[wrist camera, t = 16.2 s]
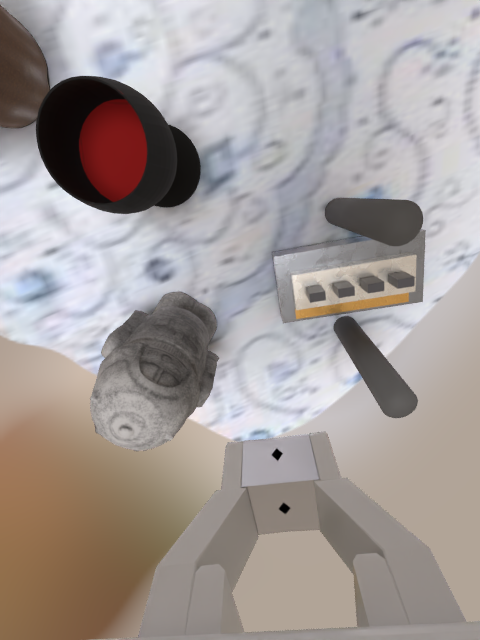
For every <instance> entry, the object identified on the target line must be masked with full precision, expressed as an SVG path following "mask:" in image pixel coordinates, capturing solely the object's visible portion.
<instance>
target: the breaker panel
mask: <svg viewBox="0 0 480 640" xmlns="http://www.w3.org/2000/svg"><path fill="white" fill-rule="evenodd" d="M424 253H425V230H420V232H419V233H418V235H417V236H416V237H415V238H414V239H413V240H412V241H410V242H409V243H407V244H405V245H402V246H389V245H386V244H384V243H381V242H379V241H376V240H373V239H371V238H368V237H365V236H360V237H354V238H348V239H343V240H337V241H332V242H326V243H320V244H315V245H309V246H304V247H298V248H292V249H287V250H281V251H275V252H272V256H273V263H274V270H275V277H276V284H277V291H278V298H279V305H280V312H281V317H282V321H283V323H287V322H294V321H300V320H307V319H313V318H320V317H326V316H333V315H339V314H346V313H352V312H359V311H365V310H372V309H378V308H385V307H391V306H398V305H404V304H411V303H417V302H423V278H424ZM398 272H406V273H408V274H410V275H412V276H414V277H415V283H414V286H412V287H406V288H400V289H397V288H396V287H394V286H392V285H391V284H389V283H388V274H392V273H398ZM374 276H376V277H378V278H379V279H381V280H382V281H384V291H381V292H375V293H367V292H366V291H364V290H363V289H362V288H361V284H360V279H362V278H368V277H374ZM343 281H349V282H350V283H351V284H352V285H353V286H354V287H355V296H349V297H343V298H338V297H337V295H336V294H335V293H334V292H333V283H337V282H343ZM319 285H321V286H322V288H323V289H324V290H325V294H326V300H324V301H318V302H312V303H310V301H309V300H308V298H307V295H306V288H307V287H313V286H319Z"/></svg>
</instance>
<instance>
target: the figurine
mask: <svg viewBox="0 0 480 640" xmlns="http://www.w3.org/2000/svg"><path fill="white" fill-rule="evenodd" d="M216 328H217V322H216V318H215V315H214V313H213V312H212V311H211V309H209V308H208V307H206V306H205V305H203V304H201V303H199V302H197V301H196V300H195V299H193V298H192V297H190V296H188V295H187V294H185V293H182V292H172V293H169V294H165V295H164V296H163V297H162V299H161V300H160V302H159V303H158V305H157V307H156V308H155V310H154V311H153V313H152V315H150V316H149V315H148V314H146V313H144V312H142V311H137V310H136V311H135V312H134V313H133V314H132V315H131V317H130V318H129V319H128V320H127V321H126V322H125V323H124V324H123V325H122V326H120V327H119V328H117V329H116V330H115V331H113V332H112V333H111V334H110V335H109V337H108V338H107V340H106V342H105V344H104V346H103V348H102V351H101V354H102V356H103V357H104V358H105V359H104V360H103V361H102V363H101V364H100V368H99V372H98V375H97V379H96V383H95V386H94V389H93V392H92V396H91V398H90V400H91V402H90V409H91V416H92V420H93V422H94V425H95V431H96V433H98V434H100V435H101V436H103V437H104V438H105V439H107V440H108V441H110V442H112V443H113V444H115V445H117V446H120V447H123V448H126V449H132V450H134V451H141V450H143V451H146V450H148V449H152V448H155V447H158V446H160V445H162V444H164V443H165V442H167V441H171V439H173V437H174V436H175V434H176V433H177V432H178V431H179V430H180V428H181V427H182V425H183V424H184V423H185V421H186V419H187V418H188V417H189V416H190V415H191V414H192V413H193V412H194V410H195V409H196V407H202V405H203V404H204V403H205V401H206V400H207V398H208V397H209V395H210V392H211V390H212V387H213V381H214V376H215V371H216V366H217V361H218V359H219V357H218V356H217V355H216V354H214V353H212V352H210V351H208V350H207V349H208V343H209V342H210V340H211V338H212V337H213V335H214V333H215V331H216Z"/></svg>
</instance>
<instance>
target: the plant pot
mask: <svg viewBox="0 0 480 640" xmlns="http://www.w3.org/2000/svg"><path fill="white" fill-rule="evenodd" d="M49 90H50V88H49V84H48V80H47V65H46V62H45V59H44V56H43V54H42V52H41V50H40V48H39V46H38V44H37V43H36V41H35V40H34V38H33V37H32V36H31V34H30V33H29V32H28V31H27V29H26V28H25V27H24V26H23V25H22V24H21V23H20V22H19V21H17V20H16V19H15V18H14V17H13V16H12V15H10V14H9V13H8V12H7V11H6V10H5V9H4V8H3V7H2V6H0V126H1V127H6V128H20V127H24V126H27V125H29V124H31V123H32V122H33V121H35V120H36V119H37V116H38V111H39V108H40V105H41V103H42V101H43V99H44V98H45V96H46V95H47V93H48V92H49Z"/></svg>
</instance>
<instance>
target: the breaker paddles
mask: <svg viewBox="0 0 480 640" xmlns="http://www.w3.org/2000/svg"><path fill="white" fill-rule="evenodd" d="M388 283H389V284H391V285H392V286H394V287H396V288H397V289H400V288H406V287H412V286H414V283H415V277H414V276H412V275H410V274H408V273H406V272H398V273H392V274H388ZM360 284H361V288H362V289H363V290H364V291H366V292H367V293H375V292H381V291H384V281H382V280H381V279H379V278H378V277H376V276H374V277H368V278H362V279H360ZM333 292H334V293H335V294H336V295H337V297H338V298H343V297H349V296H355V287H354V286H353V285H352V284H351V283H350V282H349V281H343V282H337V283H333ZM306 295H307V298H308V300H309V301H310V303H312V302H318V301H324V300H326V294H325V290H324V289H323V288H322V286H321V285H319V286H313V287H307V288H306Z"/></svg>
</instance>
